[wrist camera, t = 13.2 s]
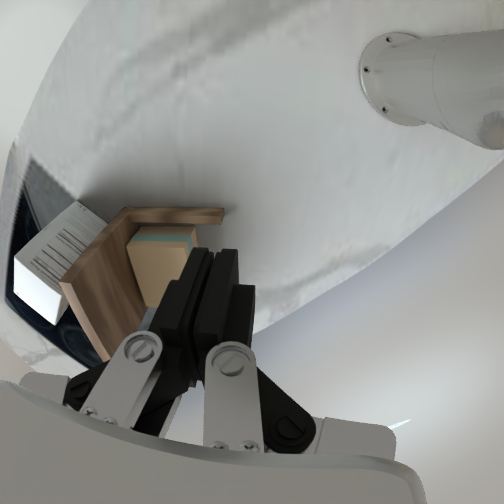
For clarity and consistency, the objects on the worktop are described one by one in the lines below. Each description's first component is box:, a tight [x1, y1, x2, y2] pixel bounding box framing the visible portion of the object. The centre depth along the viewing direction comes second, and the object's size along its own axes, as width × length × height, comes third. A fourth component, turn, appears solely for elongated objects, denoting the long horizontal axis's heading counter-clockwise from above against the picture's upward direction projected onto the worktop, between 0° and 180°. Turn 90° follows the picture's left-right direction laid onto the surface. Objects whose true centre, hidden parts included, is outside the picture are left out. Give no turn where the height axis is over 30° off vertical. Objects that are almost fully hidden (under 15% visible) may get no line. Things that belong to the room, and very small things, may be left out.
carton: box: [126, 226, 198, 308], centre depth 43 cm, size 9×12×6 cm
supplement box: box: [14, 201, 108, 325], centre depth 37 cm, size 10×9×17 cm
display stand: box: [59, 207, 224, 362], centre depth 38 cm, size 16×17×18 cm
